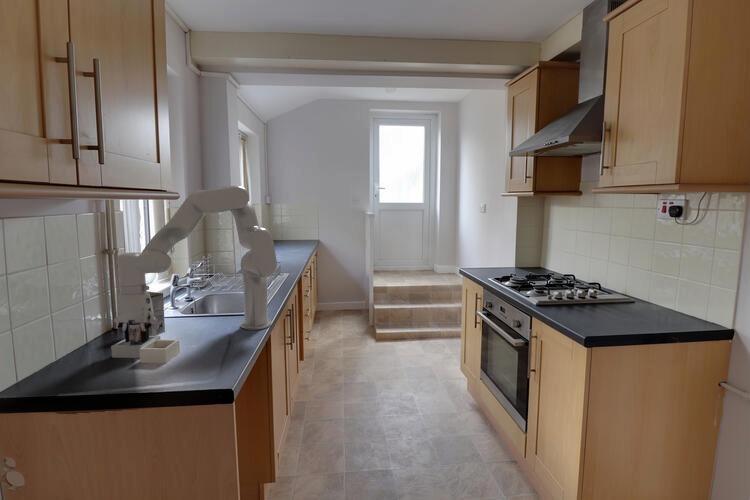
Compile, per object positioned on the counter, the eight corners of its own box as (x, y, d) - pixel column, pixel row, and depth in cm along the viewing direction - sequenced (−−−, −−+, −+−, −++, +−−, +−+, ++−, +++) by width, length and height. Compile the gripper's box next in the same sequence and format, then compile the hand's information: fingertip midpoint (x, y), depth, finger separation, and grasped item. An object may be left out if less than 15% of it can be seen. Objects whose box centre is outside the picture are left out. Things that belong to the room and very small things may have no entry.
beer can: (127, 351, 131) (124, 317, 129) (132, 346, 135) (129, 313, 134) (143, 350, 132) (141, 316, 131) (147, 345, 137) (145, 312, 135)
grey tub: (132, 347, 139) (131, 335, 139) (160, 348, 139) (160, 335, 138) (112, 359, 129) (111, 346, 128) (143, 360, 129) (142, 346, 128)
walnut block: (156, 356, 130) (155, 346, 130) (167, 355, 131) (167, 345, 130) (153, 360, 127) (152, 350, 126) (165, 359, 127) (164, 349, 127)
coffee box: (134, 334, 153) (131, 294, 151) (148, 329, 159) (146, 290, 157) (152, 336, 150) (149, 296, 148) (166, 331, 157) (163, 292, 154)
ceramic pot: (155, 354, 133) (154, 339, 132) (179, 355, 133) (179, 339, 132) (140, 365, 125) (139, 348, 124) (166, 365, 125) (165, 349, 124)
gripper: (164, 287, 135) (167, 337, 137) (116, 286, 135) (120, 336, 137) (151, 292, 127) (155, 345, 130) (100, 291, 128) (105, 344, 130)
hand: (137, 340), depth 134 cm, fingers closed on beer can, 4 cm apart
